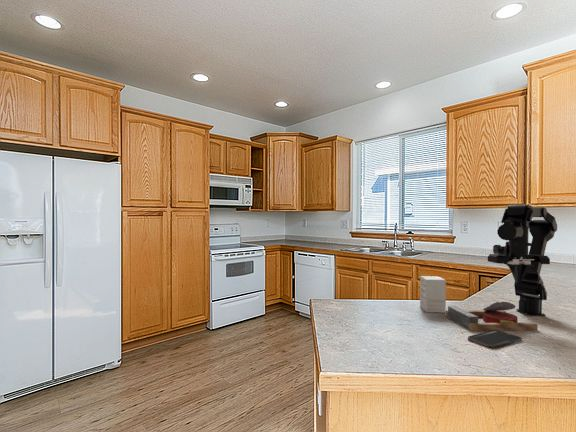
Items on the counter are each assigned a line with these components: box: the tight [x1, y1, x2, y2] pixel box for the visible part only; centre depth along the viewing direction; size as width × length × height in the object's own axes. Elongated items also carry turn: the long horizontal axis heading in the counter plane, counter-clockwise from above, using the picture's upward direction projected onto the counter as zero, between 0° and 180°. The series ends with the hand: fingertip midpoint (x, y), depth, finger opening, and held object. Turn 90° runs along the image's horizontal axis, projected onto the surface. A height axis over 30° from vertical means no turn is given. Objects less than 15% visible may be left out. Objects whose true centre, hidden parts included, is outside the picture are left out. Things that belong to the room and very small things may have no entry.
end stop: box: [447, 305, 479, 330], centre depth 108 cm, size 3×12×4 cm, turn 4°
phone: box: [467, 330, 523, 350], centre depth 93 cm, size 8×1×15 cm
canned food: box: [482, 301, 518, 323], centre depth 109 cm, size 11×10×10 cm
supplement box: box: [419, 275, 447, 314], centre depth 123 cm, size 7×7×13 cm
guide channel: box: [445, 309, 538, 332], centre depth 109 cm, size 22×15×2 cm
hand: (517, 283), depth 113 cm, fingers closed
